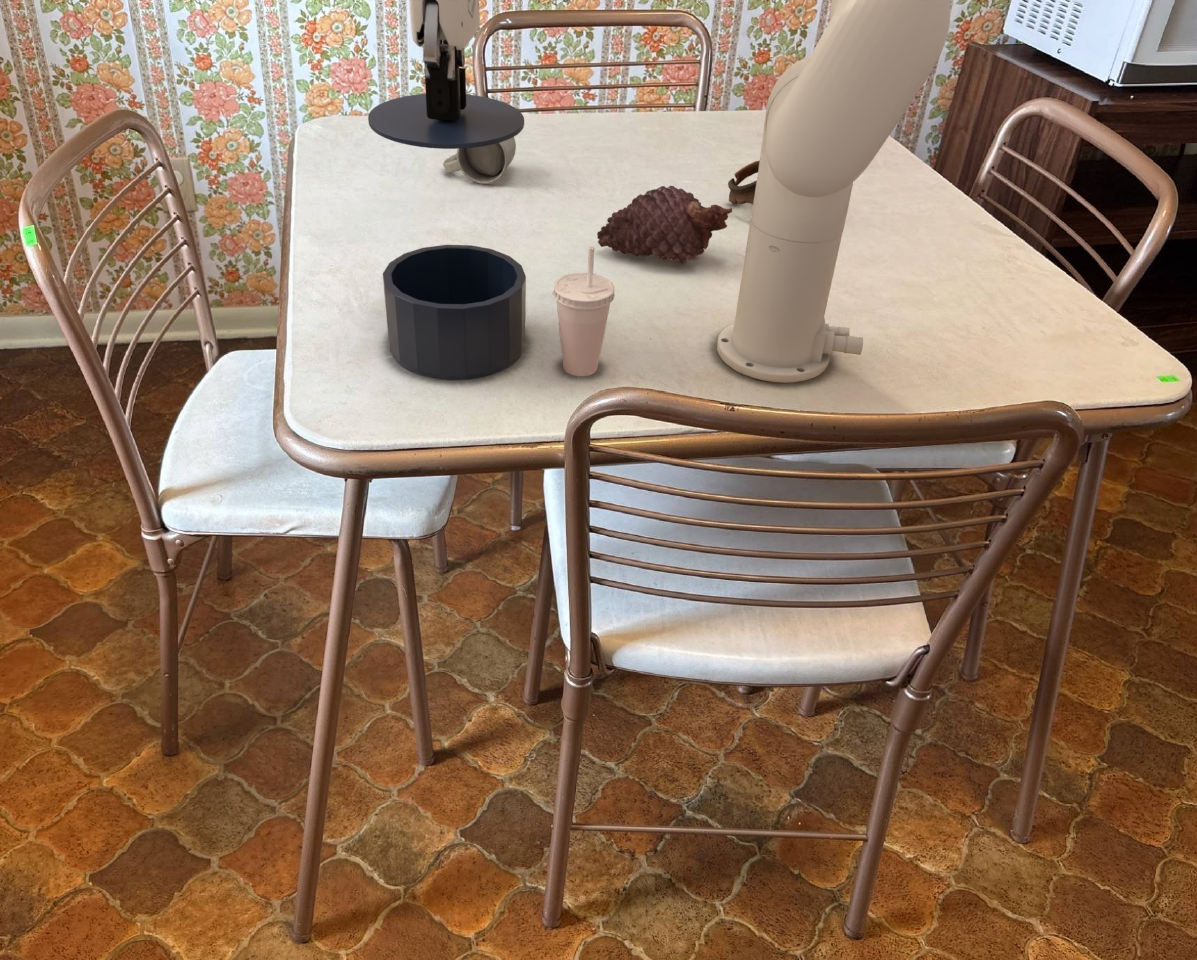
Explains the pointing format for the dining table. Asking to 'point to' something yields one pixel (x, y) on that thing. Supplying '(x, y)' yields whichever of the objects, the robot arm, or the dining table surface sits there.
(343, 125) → the dining table surface
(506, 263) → the pot
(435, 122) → the pot lid
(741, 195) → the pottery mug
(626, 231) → the pine cone
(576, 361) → the smoothie
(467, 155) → the ceramic mug
